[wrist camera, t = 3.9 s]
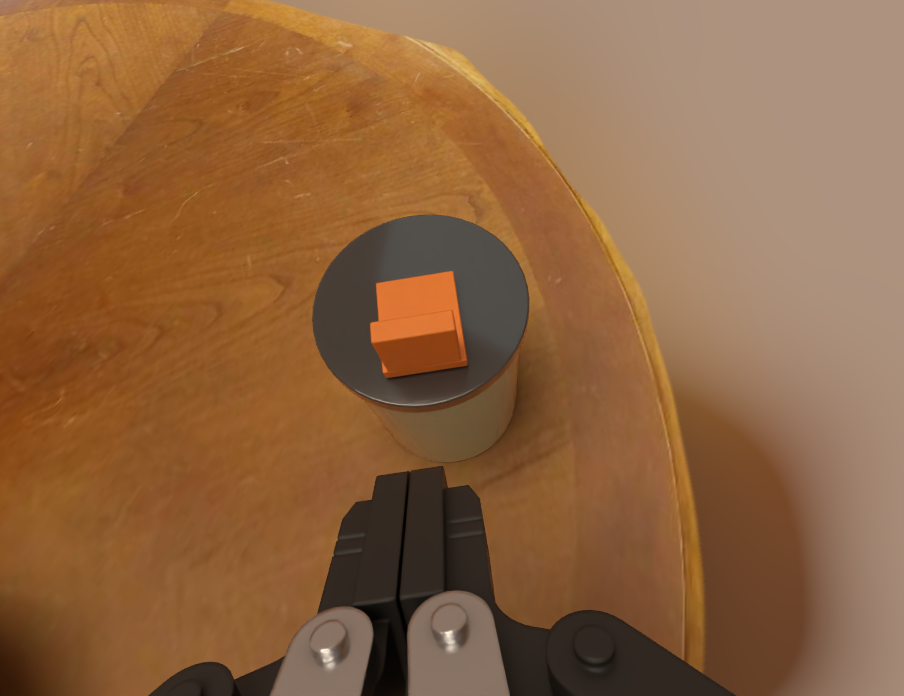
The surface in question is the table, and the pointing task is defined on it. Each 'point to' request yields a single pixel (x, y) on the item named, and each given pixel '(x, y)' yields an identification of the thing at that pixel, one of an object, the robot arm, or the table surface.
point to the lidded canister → (483, 322)
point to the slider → (418, 325)
